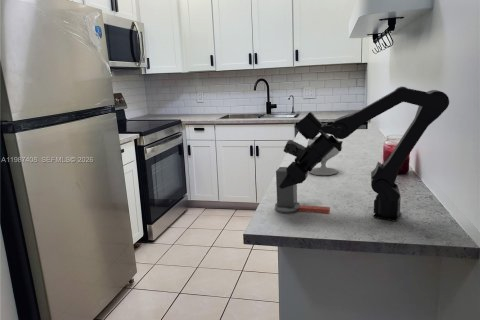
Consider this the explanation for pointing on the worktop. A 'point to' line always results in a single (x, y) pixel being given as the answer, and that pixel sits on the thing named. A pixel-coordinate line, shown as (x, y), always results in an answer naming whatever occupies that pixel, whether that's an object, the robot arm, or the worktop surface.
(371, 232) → the worktop surface
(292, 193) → the brushed metal block
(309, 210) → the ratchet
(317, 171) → the chalice
